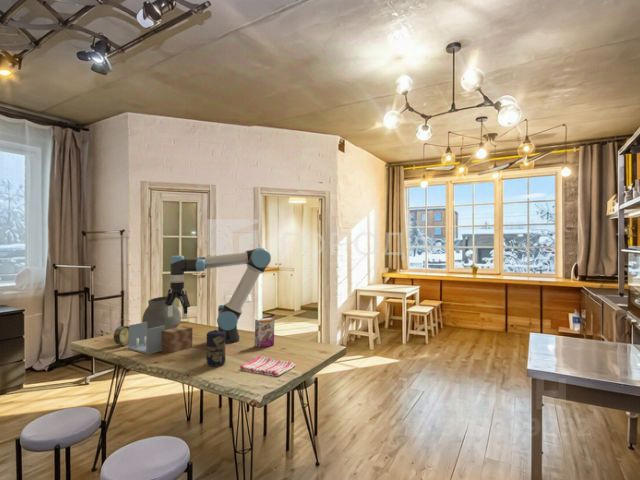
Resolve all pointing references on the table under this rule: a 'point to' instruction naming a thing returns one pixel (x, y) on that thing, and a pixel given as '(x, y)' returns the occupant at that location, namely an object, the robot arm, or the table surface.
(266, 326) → the candy bar box
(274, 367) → the dish towel
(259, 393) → the table surface
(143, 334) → the cradle
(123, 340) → the alarm clock
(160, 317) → the ceramic pot
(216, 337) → the canister
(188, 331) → the brown box
